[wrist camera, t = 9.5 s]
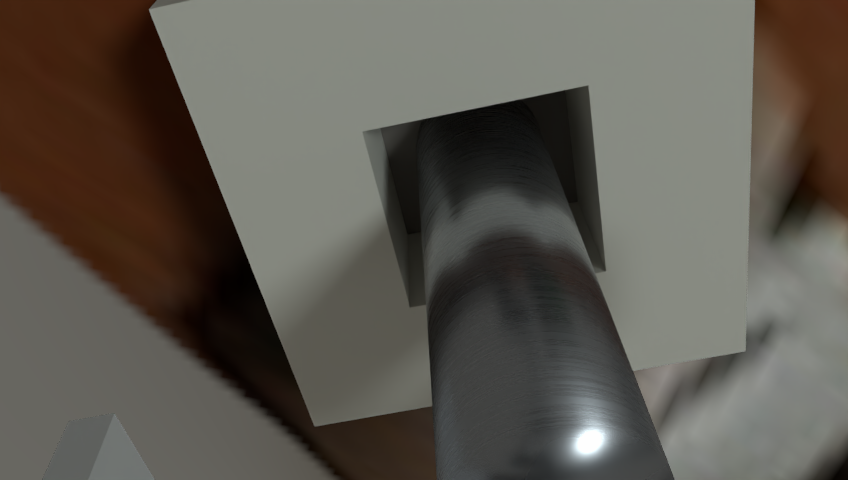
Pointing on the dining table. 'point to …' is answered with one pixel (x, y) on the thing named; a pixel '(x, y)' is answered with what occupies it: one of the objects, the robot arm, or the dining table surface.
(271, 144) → the bore block
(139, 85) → the dining table surface
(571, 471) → the pin
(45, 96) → the dining table surface
